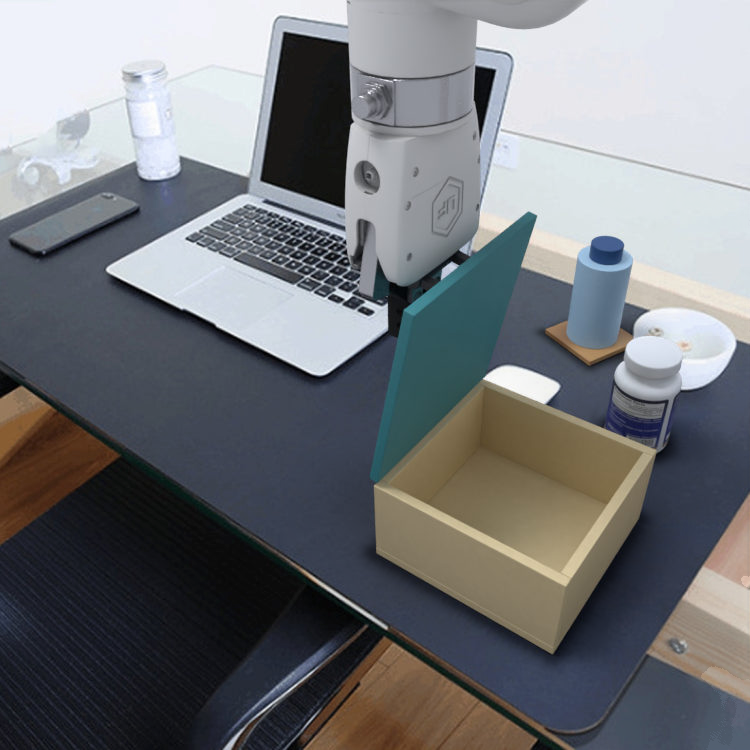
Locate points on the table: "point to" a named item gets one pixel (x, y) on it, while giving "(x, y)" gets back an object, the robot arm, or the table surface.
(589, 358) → the coaster mat
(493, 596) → the tan wooden box
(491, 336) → the teal box lid
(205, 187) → the table surface
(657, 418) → the pill bottle
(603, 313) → the water bottle
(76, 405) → the table surface
